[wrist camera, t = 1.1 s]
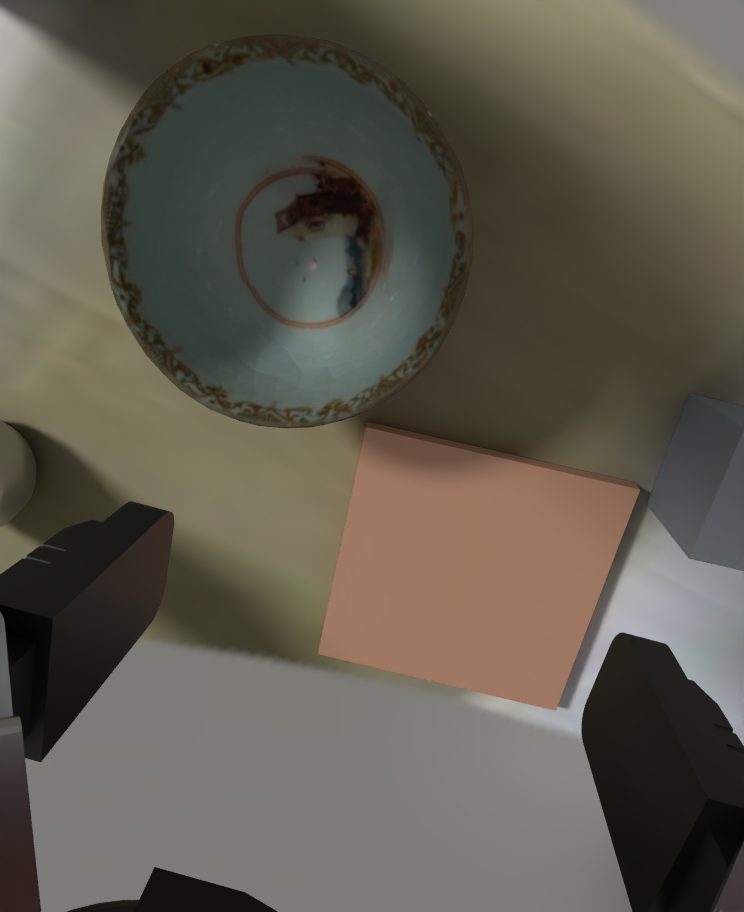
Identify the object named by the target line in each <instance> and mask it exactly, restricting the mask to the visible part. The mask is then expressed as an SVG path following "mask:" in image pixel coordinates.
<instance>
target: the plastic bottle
mask: <svg viewBox="0 0 744 912" xmlns="http://www.w3.org/2000/svg"><path fill="white" fill-rule="evenodd" d="M35 485H36V462H35V457H34V455H33V452H32V450H31V448H30V446H29V445H28V443H27V441H26V440H25V439H24V438H23V437H22V436H21V434H20V433H18V432H17V431H16V430H15V429H14V428H12V427H11V426H9V425H7V424H6V423H4V422H2V421H0V527H2V526H4V525H5V524H6V523H8V522H9V521H11V520H12V519H13V518H14V517H15V516H16V515H17V514H18V513H19V512H20V511H21V510H22V508H23V507H24V506H25V505H26V504H27V503H28V502H29V500H30V499H31V497H32V495H33V493H34V490H35Z"/></svg>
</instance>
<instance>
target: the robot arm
mask: <svg viewBox="0 0 744 912" xmlns="http://www.w3.org/2000/svg"><path fill="white" fill-rule="evenodd" d="M173 528H174V516H173V513H172V512H170V511H166V510H162V509H158V508H155V507H151V506H147V505H143V504H139V503H136V502H128V503H126V504H125V505H124V506H122V507H121V508H120V509H119V510H117V511H116V512H115V513H114V514H112V515H111V516H110V517H108V518H107V519H106V520H105V521H103V522H99V521H95V520H90V521H87V522H83V523H80V524H77V525H74V526H71V527H68V528H65V529H63V530H61V531H60V532H59V533H57V534H56V535H54V536H53V537H52V538H50V539H49V540H48V541H46V542H45V543H44V544H43V547H41V546H39V547H38V548H36V549H35V550H34V551H32V552H31V553H29V554H28V555H27V557H26V559H21V560H20V561H18V562H17V563H16V564H14V565H13V566H11V567H10V568H9V569H7V570H6V571H5V572H3V573H2V574H0V912H41V905H40V896H39V886H38V877H37V867H36V858H35V848H34V839H33V829H32V821H31V810H30V801H29V792H28V782H27V773H26V763H25V758H28V759H31V760H35V761H39V762H41V761H42V760H43V759H44V757H45V756H46V755H47V754H48V752H49V751H50V750H51V749H52V747H53V746H54V745H55V744H56V742H57V741H58V740H59V739H60V737H61V736H62V735H63V733H64V732H65V731H66V730H67V728H68V727H69V726H70V725H71V723H72V722H73V721H74V720H75V718H76V717H77V716H78V715H79V713H80V712H81V711H82V709H83V708H84V707H85V706H86V704H87V703H88V702H89V701H90V699H91V698H92V697H93V696H94V694H95V693H96V692H97V691H98V689H99V688H100V687H101V685H102V684H103V683H104V682H105V680H106V679H107V678H108V677H109V675H110V674H111V673H112V671H113V670H114V669H115V668H116V666H117V665H118V664H119V663H120V662H121V660H122V659H123V658H124V656H125V655H126V654H127V653H128V651H129V650H130V649H131V648H132V646H133V645H134V644H135V643H136V641H137V640H138V639H139V638H140V636H141V635H142V634H143V633H144V631H145V630H146V629H147V627H148V626H149V625H150V624H151V622H152V621H153V619H154V617H155V615H156V613H157V611H158V609H159V606H160V603H161V600H162V597H163V593H164V588H165V582H166V575H167V569H168V562H169V555H170V549H171V542H172V535H173ZM582 740H583V744H584V747H585V751H586V754H587V758H588V761H589V764H590V768H591V771H592V775H593V778H594V782H595V785H596V788H597V792H598V795H599V799H600V802H601V805H602V809H603V812H604V816H605V819H606V823H607V826H608V830H609V833H610V836H611V840H612V843H613V847H614V850H615V853H616V856H617V860H618V864H619V867H620V870H621V874H622V877H623V881H624V884H625V888H626V891H627V894H628V898H629V901H630V905H631V908H632V912H744V746H743V744H742V743H741V741H740V739H739V738H738V736H737V735H736V734H734V733H733V728H732V727H731V725H730V723H729V722H728V720H727V718H726V717H725V715H724V714H723V712H722V710H721V709H720V707H719V706H718V704H717V703H716V702H715V701H714V700H713V699H712V698H710V697H709V696H708V695H707V694H706V693H705V692H704V691H703V690H702V689H701V688H700V687H699V686H698V685H697V684H696V683H695V682H694V681H692V680H688V679H687V677H686V675H685V673H684V672H683V670H682V668H681V667H680V665H679V663H678V661H677V660H676V658H675V656H674V655H673V653H672V651H671V650H670V648H669V647H668V646H667V645H666V644H664V643H661V642H657V641H653V640H649V639H645V638H642V637H638V636H634V635H630V634H627V633H619V634H618V635H617V636H616V637H615V638H614V639H613V641H612V643H611V645H610V647H609V650H608V652H607V654H606V657H605V659H604V662H603V664H602V666H601V669H600V671H599V673H598V676H597V678H596V680H595V683H594V685H593V688H592V690H591V692H590V695H589V697H588V699H587V702H586V704H585V708H584V712H583V717H582ZM68 912H277V911H276V910H274V909H272V908H271V907H269V906H267V905H265V904H264V903H262V902H260V901H259V900H257V899H255V898H254V897H252V896H250V895H249V894H247V893H245V892H242V891H238V890H235V889H231V888H228V887H224V886H220V885H217V884H213V883H210V882H206V881H202V880H199V879H195V878H192V877H188V876H185V875H181V874H177V873H174V872H171V871H167V870H163V869H160V868H156V867H155V868H154V870H153V872H152V874H151V876H150V878H149V881H148V882H147V885H146V887H145V889H144V891H143V893H142V895H141V897H140V899H139V900H120V901H112V902H104V903H98V904H93V905H90V906H85V907H81V908H77V909H73V910H70V911H68Z"/></svg>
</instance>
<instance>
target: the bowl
mask: <svg viewBox="0 0 744 912" xmlns="http://www.w3.org/2000/svg"><path fill="white" fill-rule="evenodd" d="M101 234H102V246H103V251H104V256H105V261H106V266H107V270H108V275H109V280H110V285H111V288H112V291H113V294H114V297H115V300H116V303H117V305H118V307H119V309H120V311H121V313H122V315H123V317H124V320H125V322H126V324H127V326H128V327H129V329H130V330H131V332H132V334H133V335H134V337H135V339H136V340H137V342H138V343H139V345H140V346H141V348H142V349H143V351H144V352H145V354H146V355H147V356H148V357H149V358H150V359H151V361H152V362H153V363H154V364H155V365H156V366H157V367H158V368H159V369H160V371H161V372H162V373H163V374H164V375H165V376H166V377H167V378H168V379H169V380H170V381H171V382H172V383H173V384H175V385H176V386H177V387H178V388H179V389H180V390H181V391H183V392H184V393H186V394H187V395H189V396H190V397H192V398H193V399H195V400H196V401H198V402H199V403H201V404H202V405H204V406H206V407H207V408H209V409H211V410H213V411H216V412H218V413H221V414H223V415H226V416H228V417H231V418H234V419H236V420H239V421H242V422H246V423H250V424H254V425H258V426H267V427H278V428H303V427H314V426H320V425H325V424H329V423H333V422H337V421H341V420H344V419H347V418H350V417H353V416H355V415H358V414H361V413H363V412H365V411H367V410H369V409H371V408H373V407H374V406H376V405H378V404H380V403H381V402H383V401H385V400H386V399H388V398H390V397H391V396H393V395H394V394H396V393H397V392H398V391H400V390H401V389H403V388H404V387H405V386H406V385H407V384H408V383H409V382H410V381H411V380H412V379H414V378H415V377H416V376H417V375H418V374H419V373H420V372H421V371H422V370H423V369H424V368H425V366H426V365H427V364H428V363H429V361H430V360H431V359H432V357H433V356H434V355H435V354H436V352H437V351H438V350H439V348H440V347H441V345H442V343H443V341H444V339H445V337H446V336H447V334H448V332H449V330H450V328H451V327H452V325H453V323H454V320H455V318H456V315H457V313H458V310H459V308H460V305H461V302H462V300H463V297H464V295H465V290H466V285H467V280H468V276H469V271H470V266H471V261H472V250H473V224H472V214H471V209H470V203H469V197H468V191H467V186H466V182H465V178H464V175H463V171H462V168H461V166H460V164H459V162H458V160H457V158H456V156H455V154H454V152H453V150H452V149H451V147H450V145H449V144H448V142H447V140H446V139H445V137H444V135H443V133H442V131H441V129H440V128H439V126H438V124H437V123H436V121H435V120H434V118H433V117H432V115H431V114H430V112H429V111H428V110H427V108H426V107H425V105H424V104H423V102H422V101H421V100H420V99H419V98H418V97H417V96H416V95H415V94H414V93H413V92H412V91H411V89H410V88H409V87H408V86H407V85H406V84H405V83H404V82H402V81H401V80H400V79H399V78H397V77H396V76H395V75H393V74H392V73H391V72H390V71H388V70H387V69H385V68H384V67H382V66H380V65H379V64H377V63H376V62H374V61H373V60H371V59H369V58H368V57H366V56H363V55H361V54H359V53H357V52H354V51H352V50H350V49H348V48H345V47H343V46H341V45H338V44H335V43H332V42H329V41H326V40H320V39H313V38H307V37H300V36H290V35H259V36H250V37H243V38H237V39H233V40H229V41H225V42H222V43H218V44H214V45H211V46H209V47H207V48H204V49H202V50H200V51H197V52H195V53H192V54H190V55H189V56H187V57H186V58H184V59H183V60H181V61H180V62H178V63H177V64H175V65H174V66H173V67H171V68H170V69H168V70H167V71H166V72H165V73H164V74H163V75H162V76H160V77H159V78H158V79H157V80H156V81H155V82H154V83H153V84H152V85H151V86H150V87H149V88H148V89H147V90H146V91H145V92H144V94H143V95H142V97H141V98H140V100H139V101H138V103H137V104H136V105H135V107H134V108H133V110H132V111H131V113H130V114H129V116H128V119H127V120H126V122H125V124H124V125H123V127H122V129H121V130H120V133H119V135H118V138H117V140H116V143H115V146H114V148H113V151H112V153H111V156H110V159H109V164H108V168H107V172H106V177H105V181H104V186H103V196H102V206H101Z"/></svg>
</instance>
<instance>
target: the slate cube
mask: <svg viewBox="0 0 744 912" xmlns="http://www.w3.org/2000/svg"><path fill="white" fill-rule="evenodd" d="M647 505H648V507H649V508H650V509H651V510H652V512H653V513H654V514H655V515H656V517H657V518H658V519H659V521H660V522H661V523H662V524H663V526H664V527H665V528H666V530H667V531H668V532H669V533H670V535H671V536H672V537H673V538H674V540H675V541H676V542H677V544H678V545H679V546H680V547H681V549H682V550H683V551H684V553H685V554H686V555H687V556H688V558H690V559H694V560H698V561H703V562H707V563H711V564H716V565H720V566H724V567H729V568H733V569H738V570H742V571H744V406H743V405H739V404H734V403H730V402H725V401H721V400H717V399H712V398H708V397H703V396H699V395H694V394H690V393H689V396H688V399H687V401H686V404H685V406H684V409H683V411H682V414H681V417H680V419H679V422H678V424H677V427H676V429H675V432H674V435H673V437H672V440H671V442H670V445H669V447H668V450H667V453H666V455H665V458H664V460H663V463H662V465H661V468H660V471H659V473H658V476H657V478H656V481H655V483H654V486H653V489H652V491H651V494H650V496H649V499H648V501H647Z"/></svg>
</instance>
